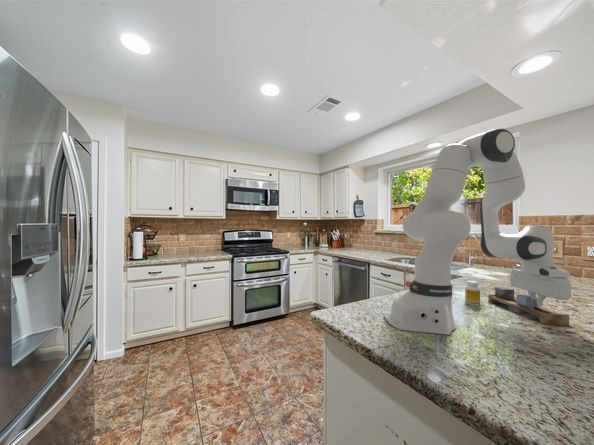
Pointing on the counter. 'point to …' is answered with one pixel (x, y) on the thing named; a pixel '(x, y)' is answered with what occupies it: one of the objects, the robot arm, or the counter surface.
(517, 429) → the counter surface
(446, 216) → the robot arm
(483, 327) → the counter surface
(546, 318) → the beam
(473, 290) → the supplement bottle
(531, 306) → the block
